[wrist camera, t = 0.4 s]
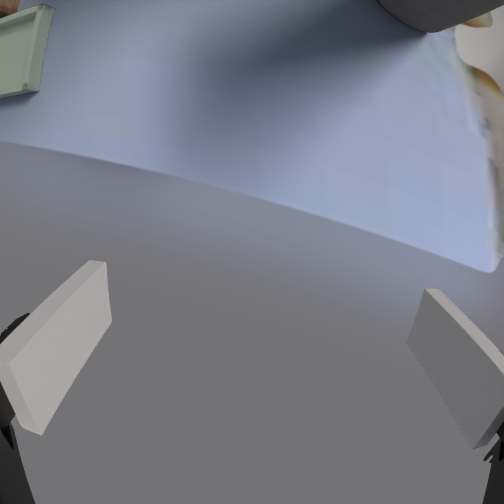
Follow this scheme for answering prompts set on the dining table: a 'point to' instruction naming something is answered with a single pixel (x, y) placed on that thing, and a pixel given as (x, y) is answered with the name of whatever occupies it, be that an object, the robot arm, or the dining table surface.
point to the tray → (23, 49)
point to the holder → (8, 7)
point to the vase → (438, 12)
